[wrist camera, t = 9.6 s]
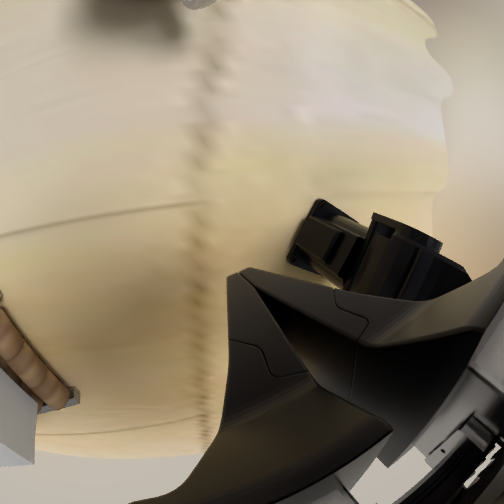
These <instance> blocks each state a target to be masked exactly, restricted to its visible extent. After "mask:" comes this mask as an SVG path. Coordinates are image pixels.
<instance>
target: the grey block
mask: <svg viewBox="0 0 504 504" xmlns="http://www.w3.org/2000/svg"><path fill="white" fill-rule="evenodd" d="M37 408H38V403H37V402H36V401H34V400H33V399H32V398H31V397H30V396H29V395H28V394H27V393H25V392H24V391H23V390H22V389H21V388H20V387H19V386H18V385H17V384H16V383H15V382H14V381H13V380H12V379H11V378H10V377H9V376H8V375H7V374H6V373H5V372H4V371H3V370H2V369H1V368H0V466H20V465H21V466H22V465H33V464H34V453H35V452H34V451H35V430H36V418H37Z"/></svg>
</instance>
